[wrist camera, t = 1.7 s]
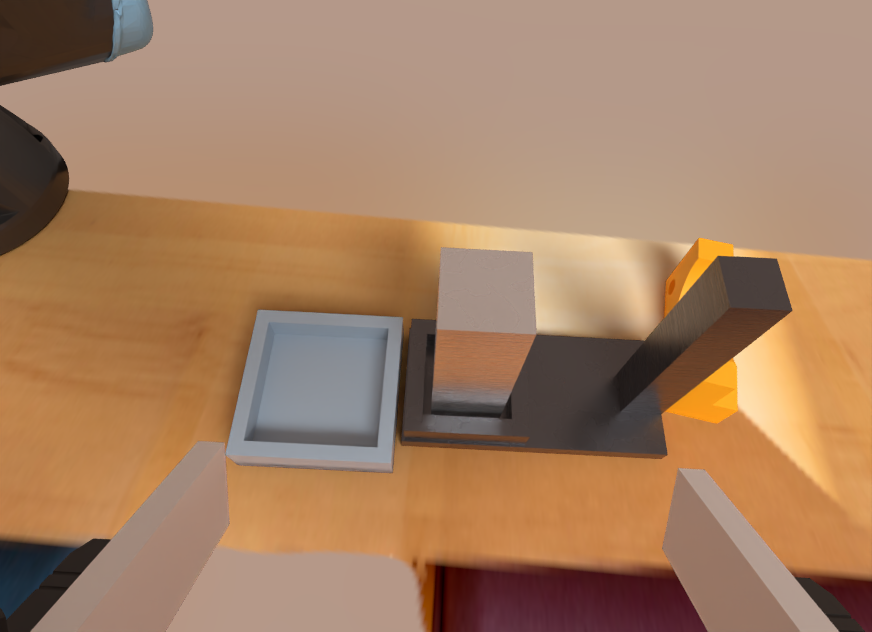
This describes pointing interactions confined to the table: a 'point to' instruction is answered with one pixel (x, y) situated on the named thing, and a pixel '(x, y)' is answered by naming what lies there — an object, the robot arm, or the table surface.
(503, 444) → the dark grey post stand
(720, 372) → the pipe clamp
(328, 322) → the parts tray
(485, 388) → the light grey tall block
